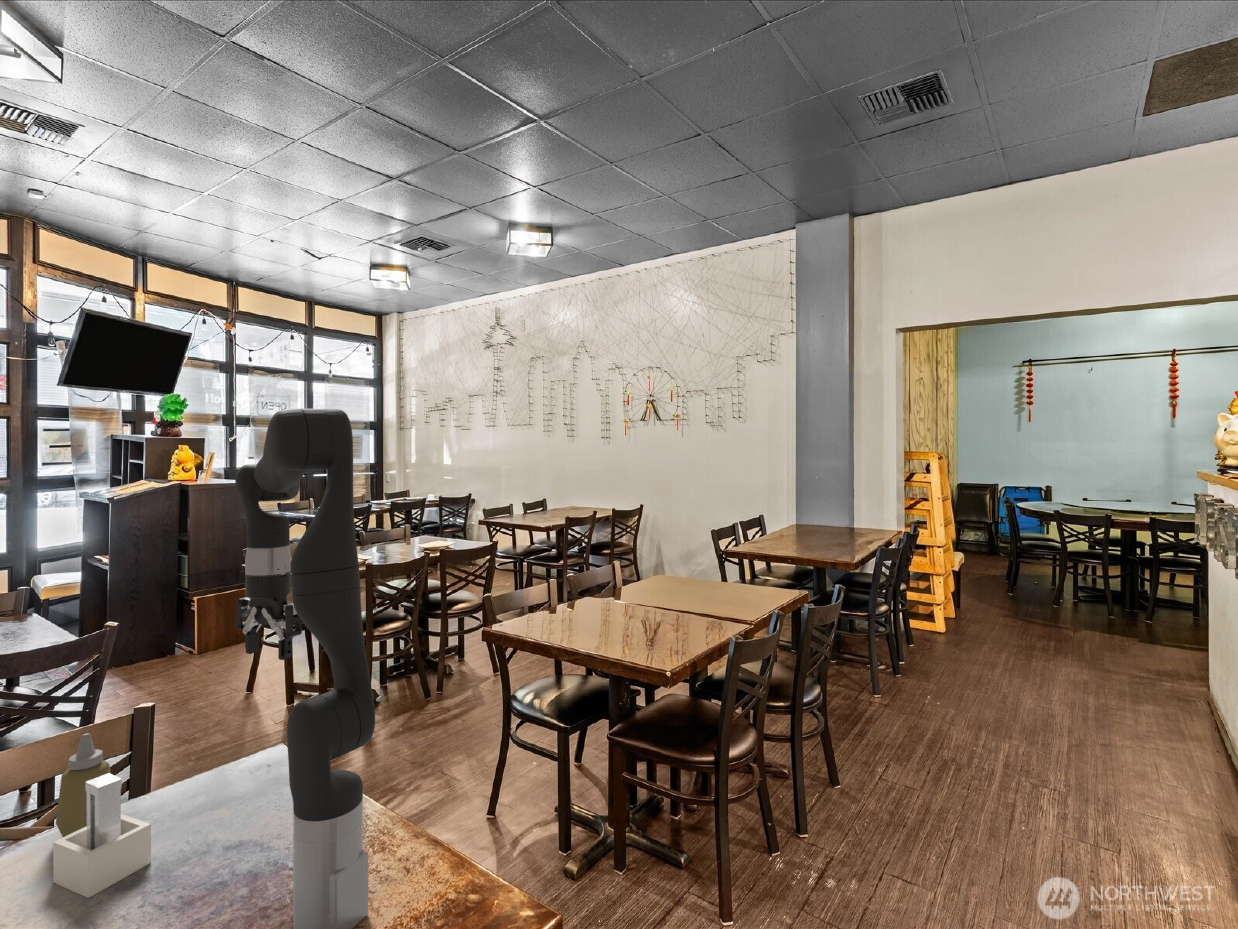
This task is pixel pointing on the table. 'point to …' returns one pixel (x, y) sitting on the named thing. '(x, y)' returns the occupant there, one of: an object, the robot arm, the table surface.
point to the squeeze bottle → (78, 786)
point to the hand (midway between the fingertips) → (268, 655)
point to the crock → (101, 858)
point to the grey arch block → (103, 810)
